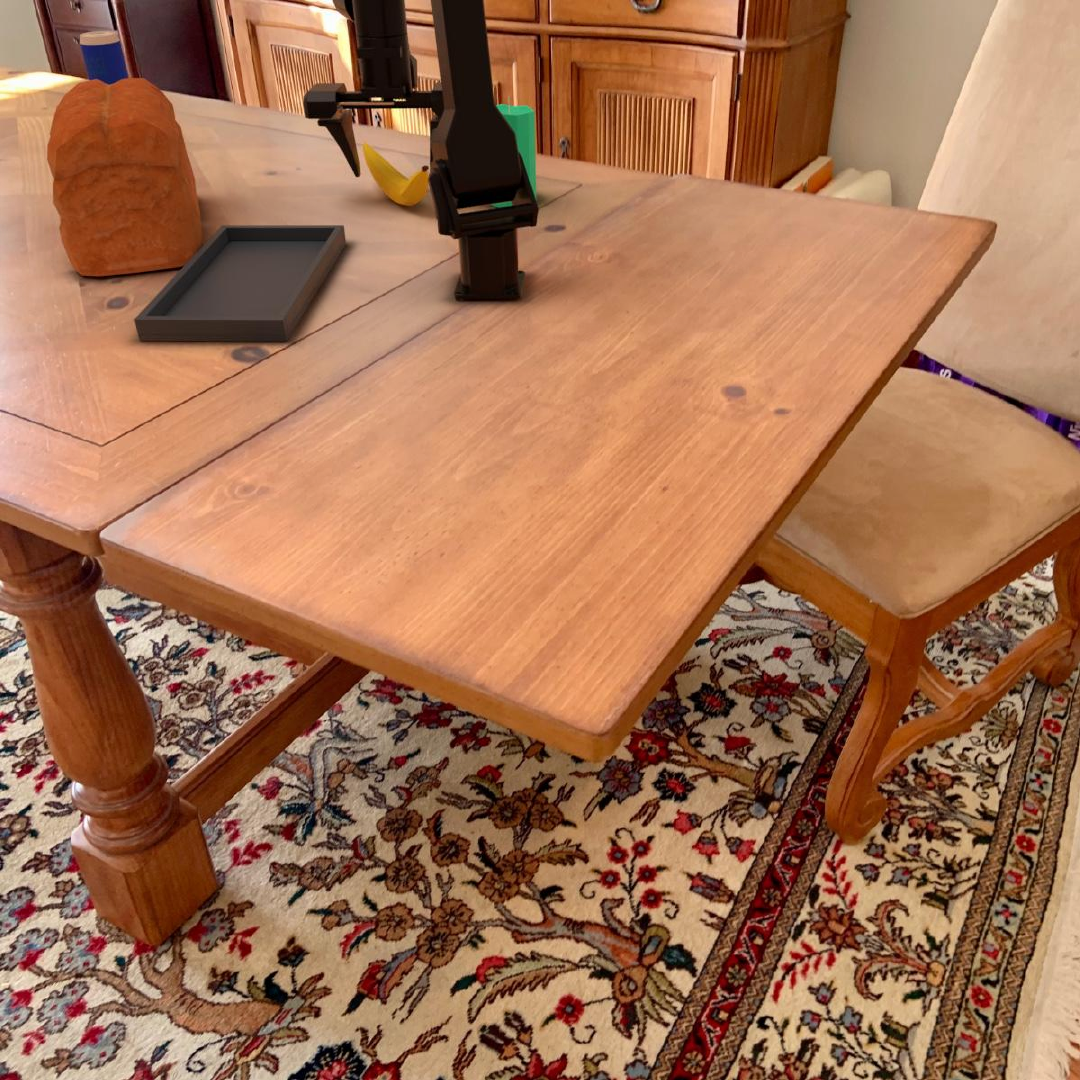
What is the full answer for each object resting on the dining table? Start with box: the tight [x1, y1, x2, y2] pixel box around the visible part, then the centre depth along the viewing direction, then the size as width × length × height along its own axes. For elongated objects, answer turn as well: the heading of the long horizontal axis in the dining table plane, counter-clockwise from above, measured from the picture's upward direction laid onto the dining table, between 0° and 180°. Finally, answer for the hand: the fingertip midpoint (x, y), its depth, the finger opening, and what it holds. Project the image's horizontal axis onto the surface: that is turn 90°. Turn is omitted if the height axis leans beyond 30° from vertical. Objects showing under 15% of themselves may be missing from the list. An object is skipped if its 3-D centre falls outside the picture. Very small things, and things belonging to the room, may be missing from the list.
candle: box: [489, 94, 537, 208], centre depth 121 cm, size 6×6×12 cm
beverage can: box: [79, 30, 129, 85], centre depth 143 cm, size 5×5×15 cm
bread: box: [46, 77, 204, 277], centre depth 112 cm, size 14×27×15 cm, turn 18°
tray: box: [133, 224, 347, 343], centre depth 102 cm, size 26×14×2 cm, turn 177°
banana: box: [362, 141, 430, 207], centre depth 123 cm, size 3×19×6 cm, turn 30°
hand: (396, 176), depth 123 cm, fingers open, 9 cm apart
